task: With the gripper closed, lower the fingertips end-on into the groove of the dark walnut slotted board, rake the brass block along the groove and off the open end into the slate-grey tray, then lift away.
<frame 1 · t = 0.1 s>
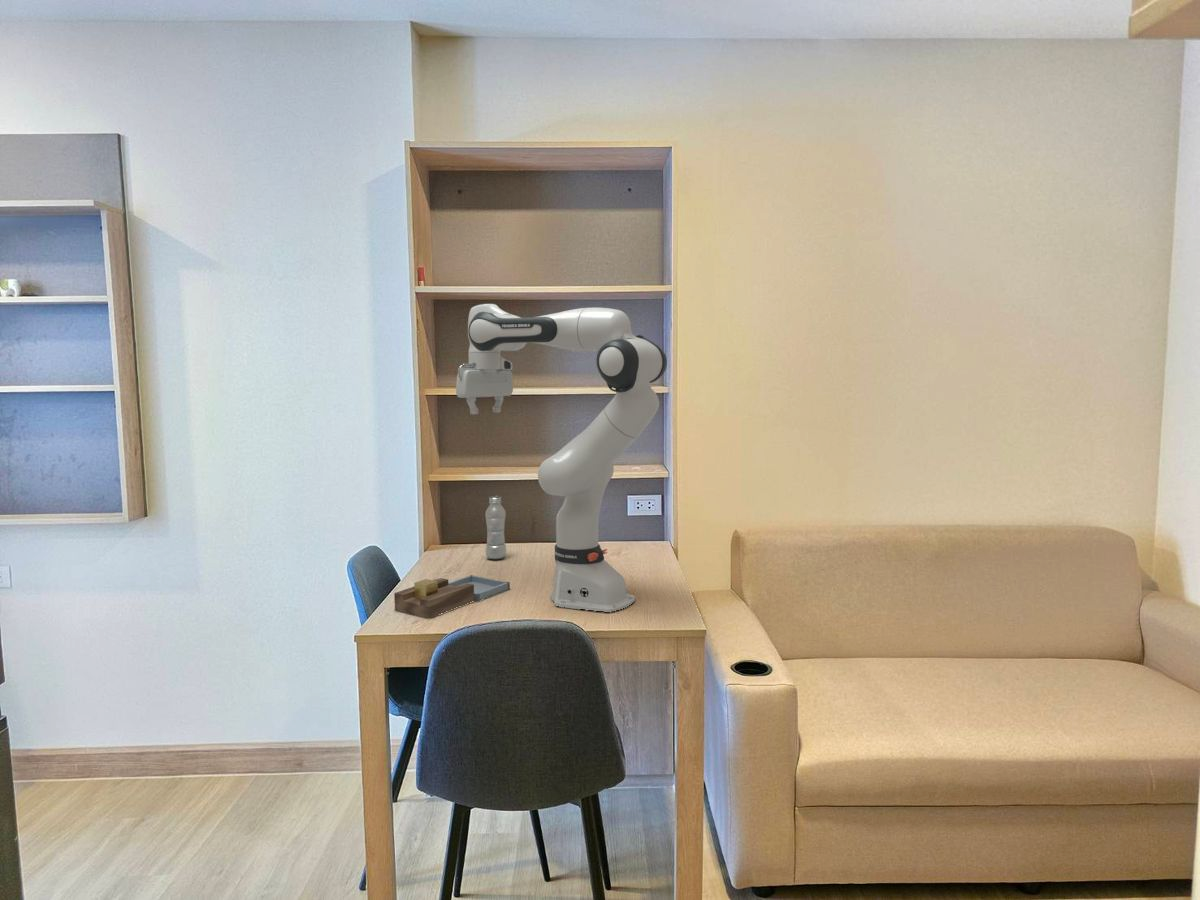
hand: (485, 413, 207), 48 cm above the table, tool pointing down, fingers open, 8 cm apart
slotted board: (435, 605, 189), on the table
brass block: (426, 597, 187), point 3 cm above the table, touching slotted board
tray: (474, 591, 202), on the table
plastic bottle: (496, 559, 237), on the table
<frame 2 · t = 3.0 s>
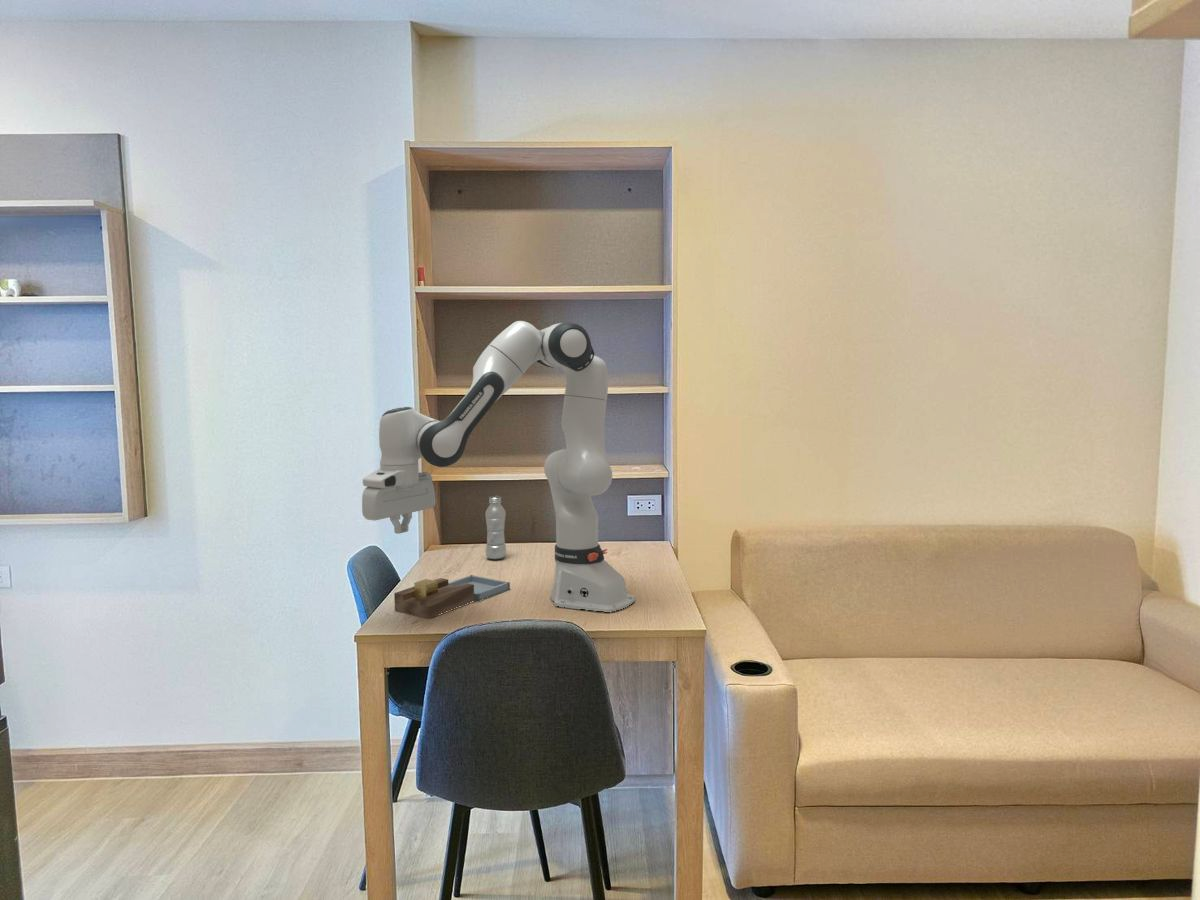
hand: (401, 532, 178), 21 cm above the table, tool pointing down, fingers closed
nothing on the table moved.
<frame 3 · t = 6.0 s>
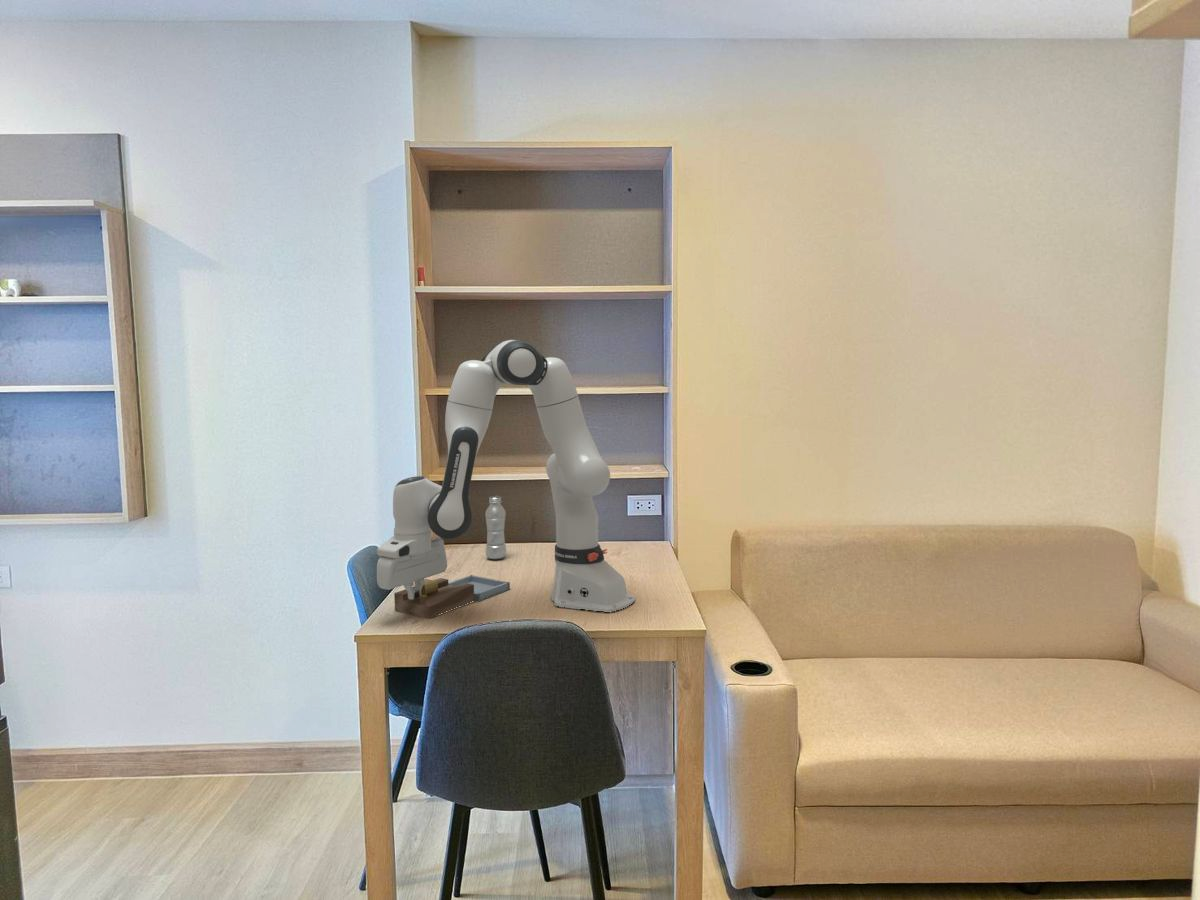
hand: (414, 597, 183), 4 cm above the table, tool pointing down, fingers closed
brass block: (426, 597, 187), point 3 cm above the table, touching gripper, slotted board
everything else where it was.
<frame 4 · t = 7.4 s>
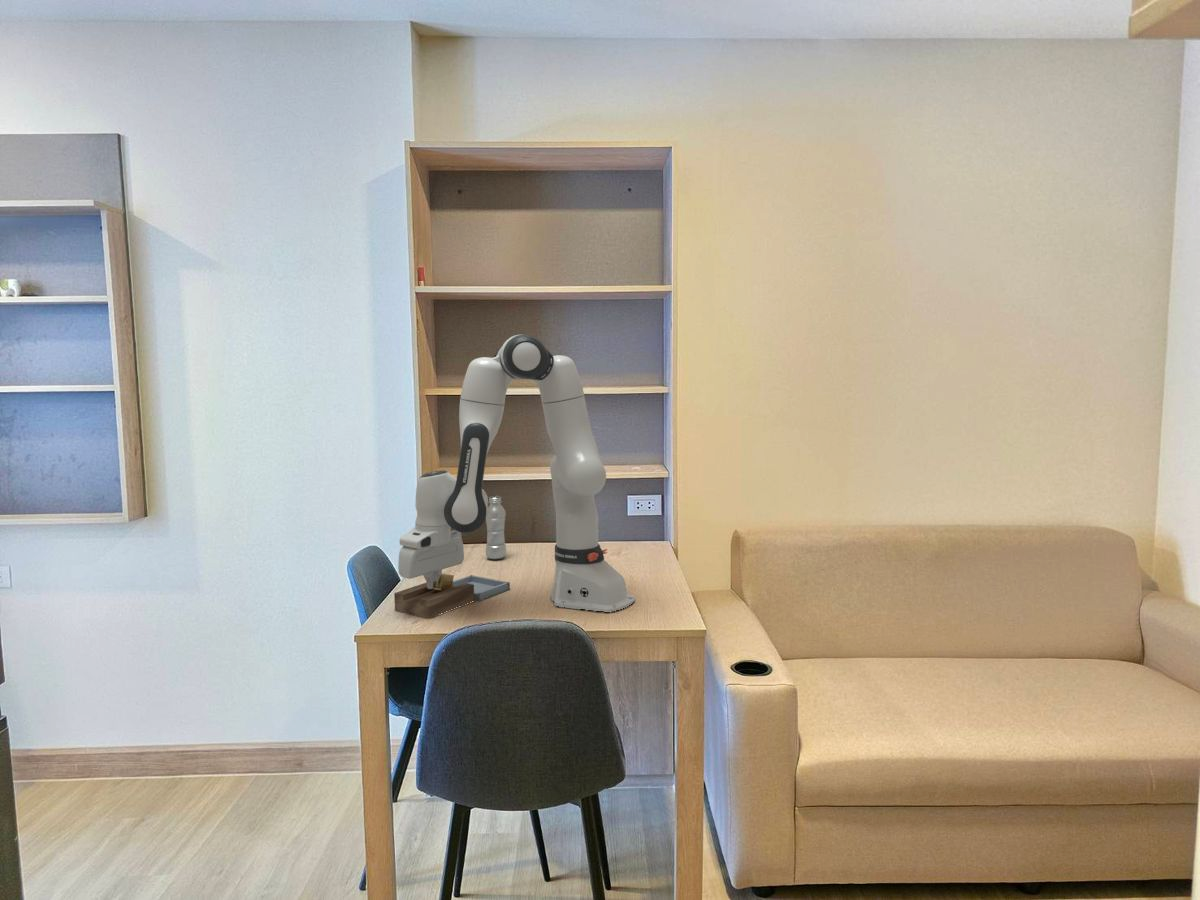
hand: (432, 587, 189), 5 cm above the table, tool pointing down, fingers closed
brass block: (440, 589, 191), point 4 cm above the table, tilted 16°, touching gripper, slotted board
everything else where it was.
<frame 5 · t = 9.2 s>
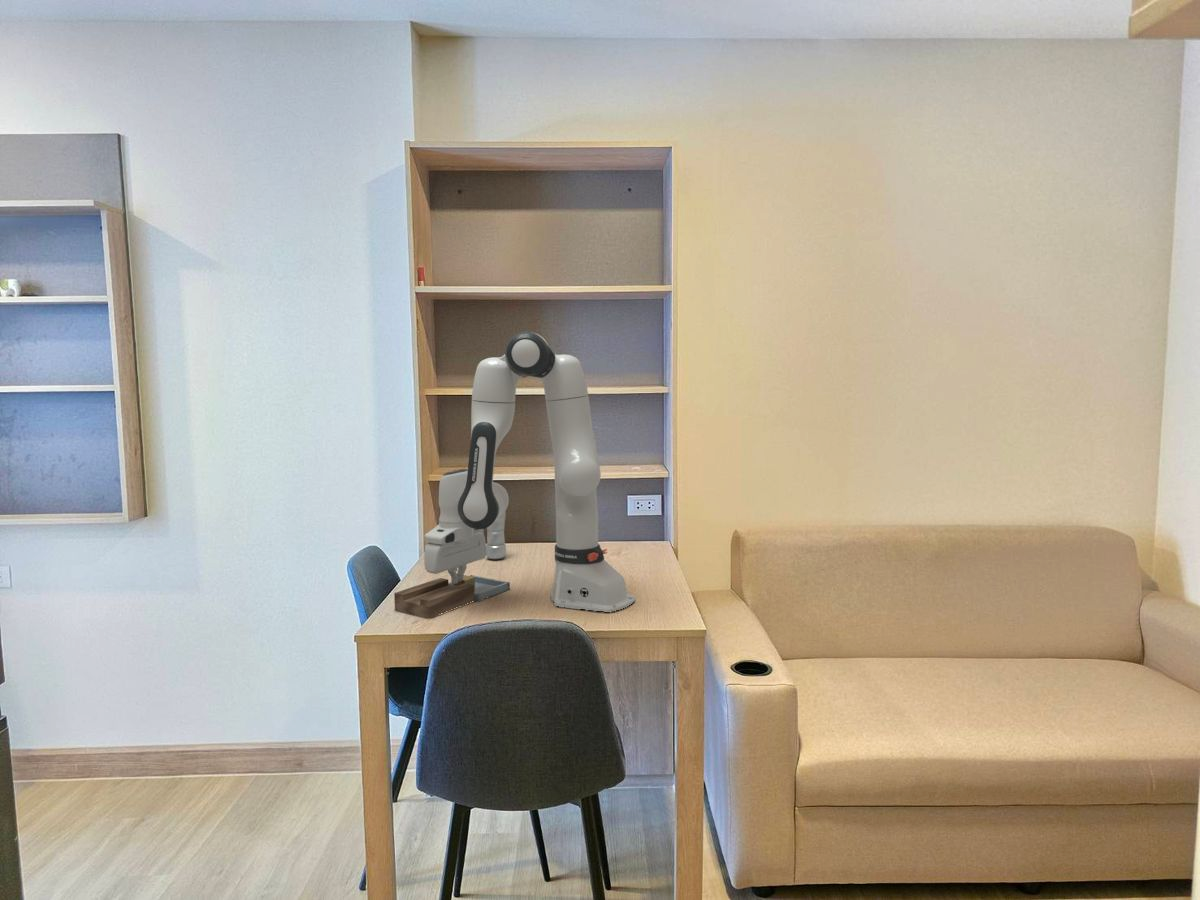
hand: (457, 582, 196), 4 cm above the table, tool pointing down, fingers closed
brass block: (459, 586, 198), point 2 cm above the table, tilted 91°, touching gripper, tray
everything else where it was.
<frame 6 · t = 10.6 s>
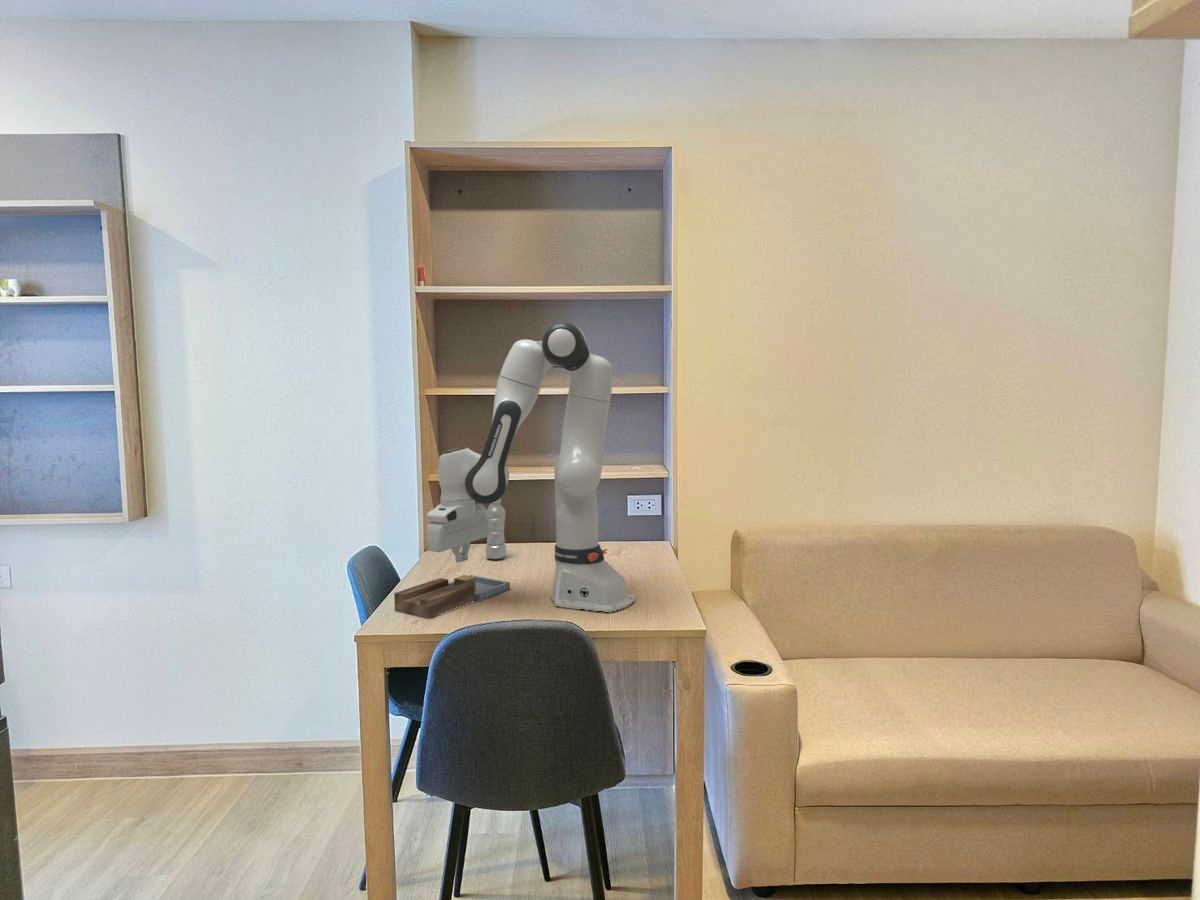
hand: (461, 560, 196), 10 cm above the table, tool pointing down, fingers closed
brass block: (459, 586, 198), point 2 cm above the table, tilted 90°, touching tray
everything else where it was.
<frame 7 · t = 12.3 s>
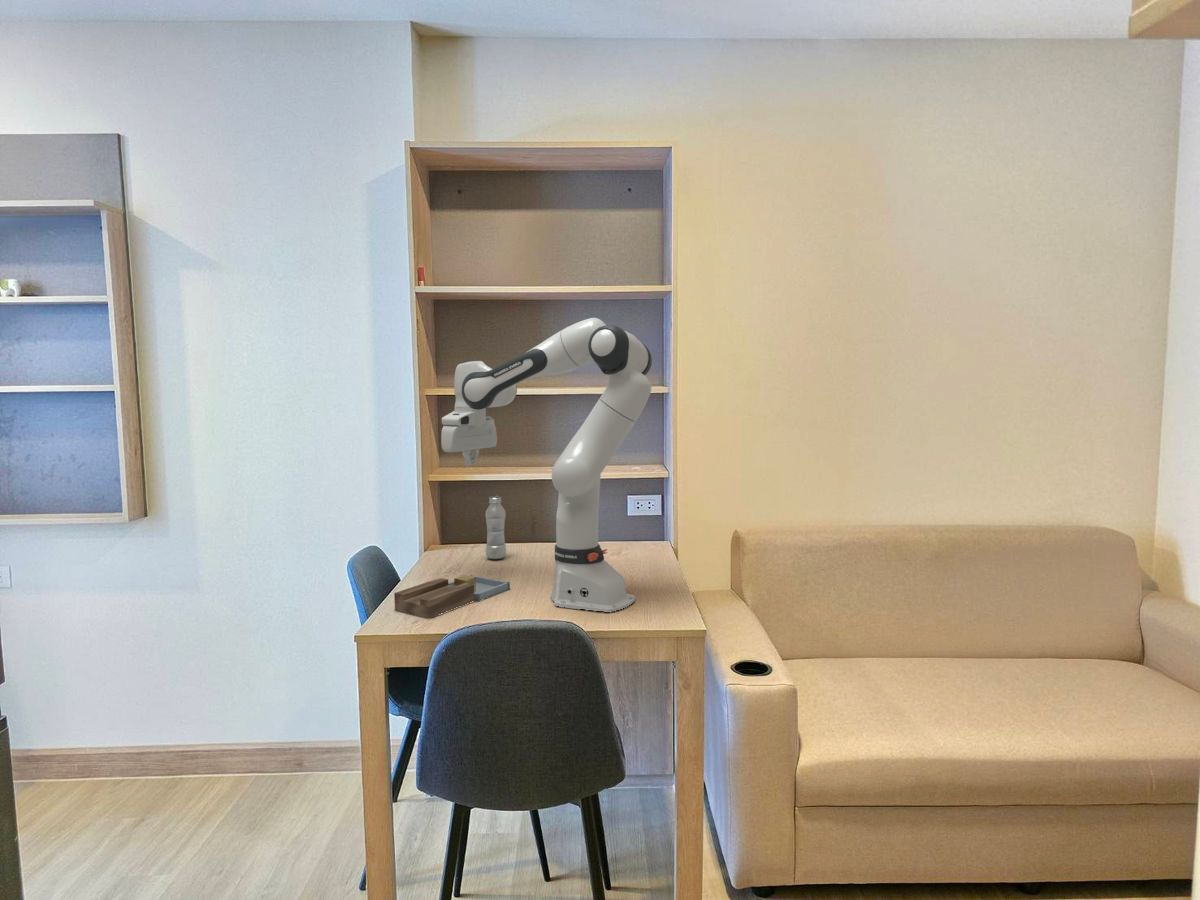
hand: (470, 465, 214), 33 cm above the table, tool pointing down, fingers closed
nothing on the table moved.
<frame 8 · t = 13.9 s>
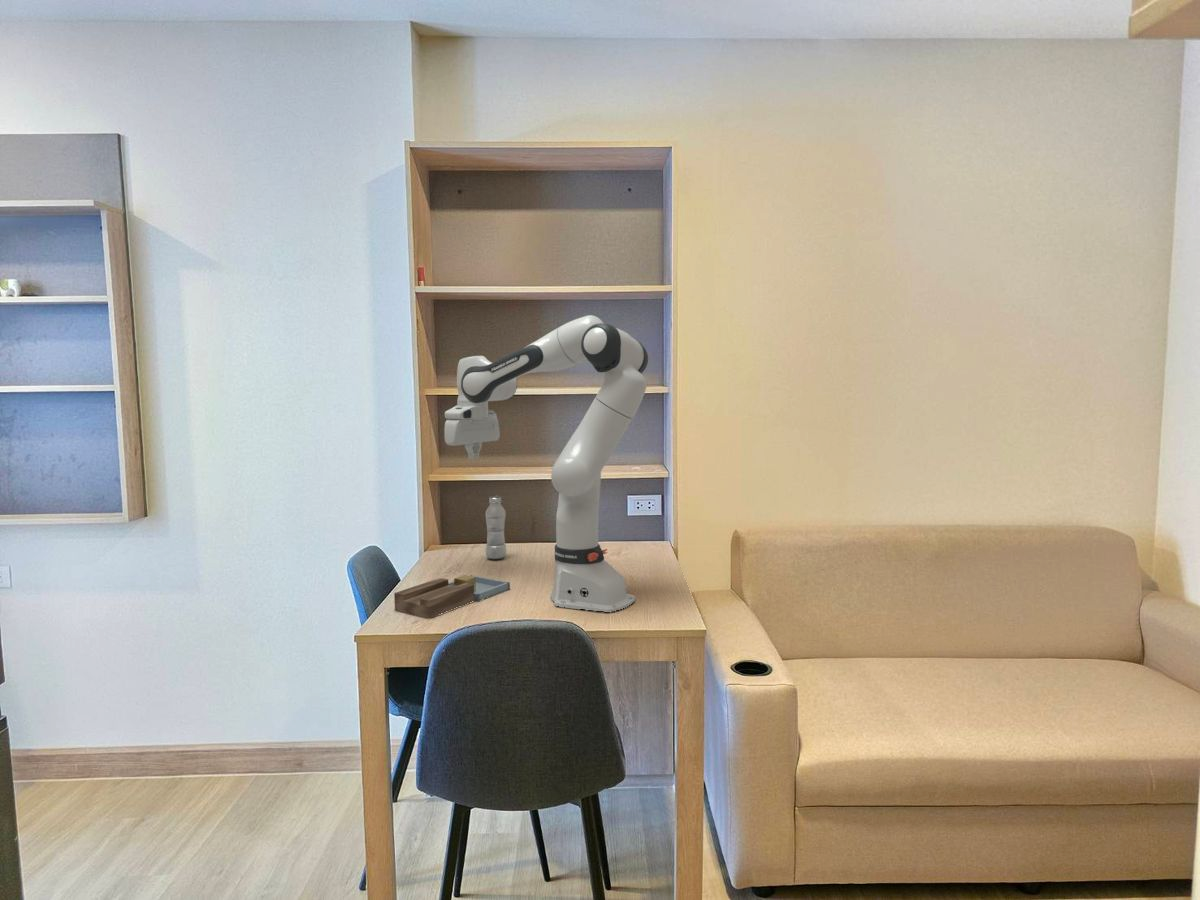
hand: (473, 458, 218), 34 cm above the table, tool pointing down, fingers closed
nothing on the table moved.
at the end: brass block inside the target area (4.9 cm from its centre), point 2.4 cm above the table; brass block touching tray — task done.
